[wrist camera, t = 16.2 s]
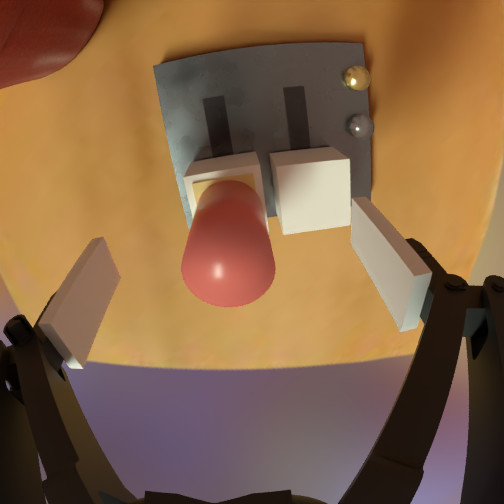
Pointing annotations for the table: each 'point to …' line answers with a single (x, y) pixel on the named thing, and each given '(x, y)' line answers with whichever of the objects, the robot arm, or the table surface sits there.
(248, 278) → the lockout cap
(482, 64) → the table surface
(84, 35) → the flower pot
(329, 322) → the table surface
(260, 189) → the block
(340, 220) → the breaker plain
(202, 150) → the panel
